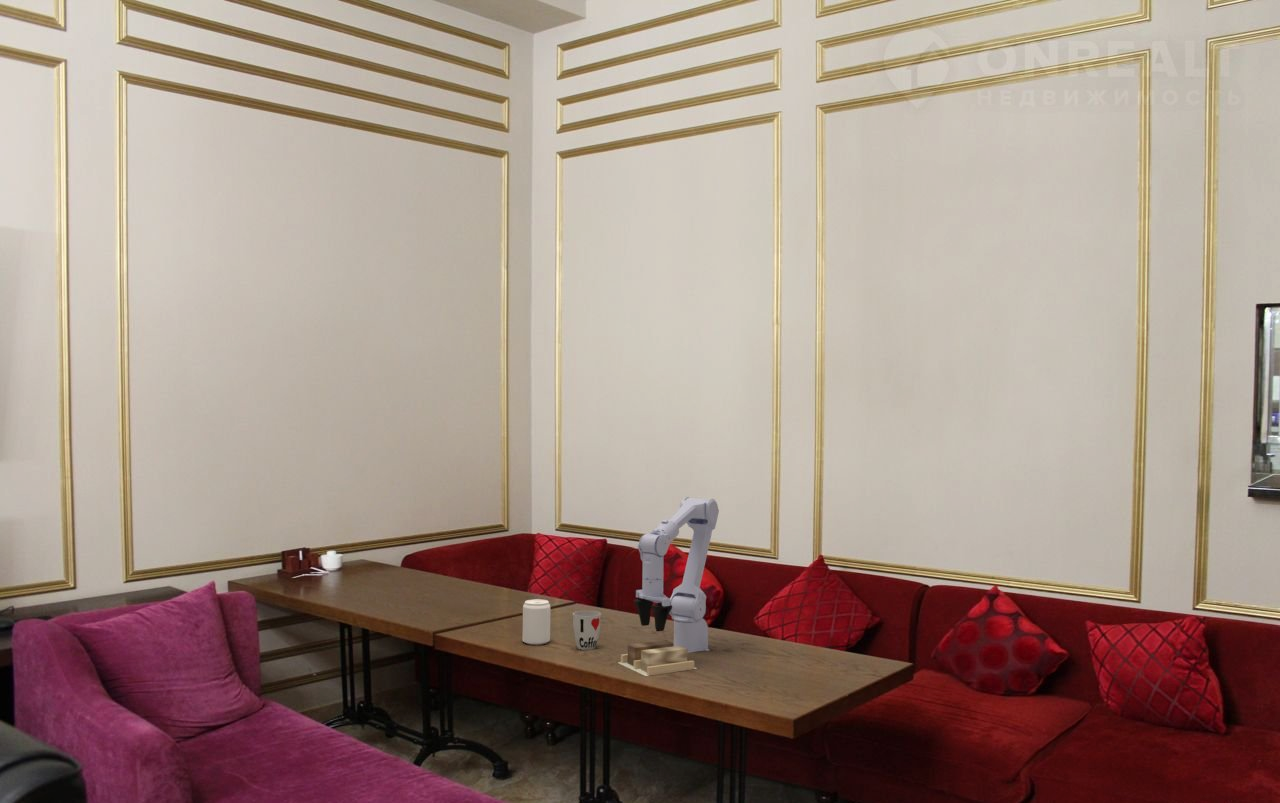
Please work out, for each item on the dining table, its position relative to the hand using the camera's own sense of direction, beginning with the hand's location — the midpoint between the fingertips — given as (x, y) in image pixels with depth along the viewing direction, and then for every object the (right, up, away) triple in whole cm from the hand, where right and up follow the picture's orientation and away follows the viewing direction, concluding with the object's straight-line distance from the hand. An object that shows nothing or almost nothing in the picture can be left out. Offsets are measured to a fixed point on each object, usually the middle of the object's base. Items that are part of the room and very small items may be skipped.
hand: (652, 628), depth 267 cm
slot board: (+1, -10, -5) cm, 11 cm away
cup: (-19, -10, +16) cm, 27 cm away
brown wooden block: (-1, -9, -2) cm, 9 cm away
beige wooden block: (+3, -9, -8) cm, 12 cm away
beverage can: (-34, -10, +22) cm, 42 cm away
